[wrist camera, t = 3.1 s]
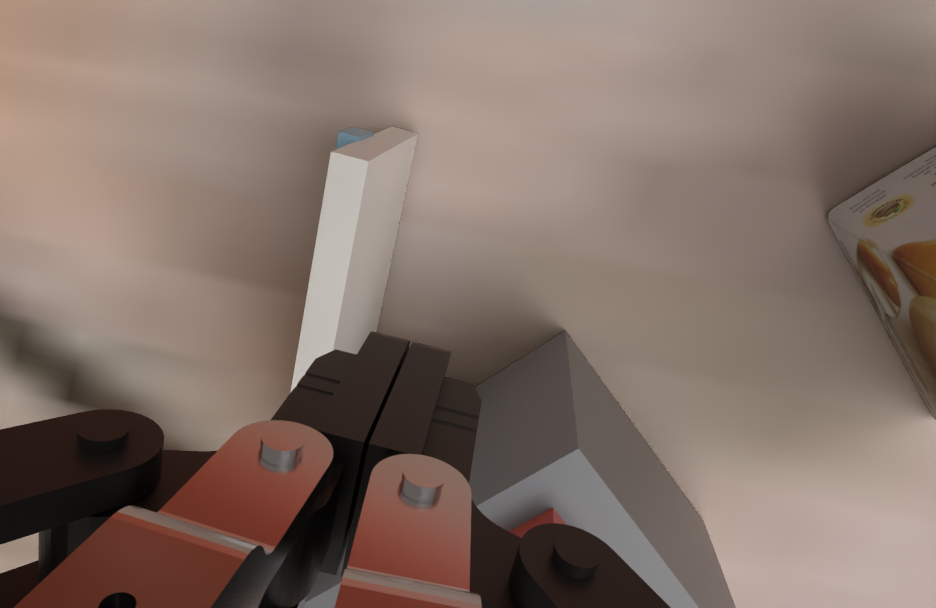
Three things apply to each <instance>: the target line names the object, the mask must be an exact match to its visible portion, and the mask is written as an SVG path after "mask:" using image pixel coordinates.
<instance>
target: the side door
mask: <svg viewBox="0 0 936 608" xmlns="http://www.w3.org/2000/svg"><path fill="white" fill-rule="evenodd" d="M417 138H418V133H414V132H410V131H407V130H403V129H399V128H395V127H390V128H387V129H385V130H382V131H380V132H378V133H375V134H374V132H372V131H369V130H365V129H361V128H357V127H351V128H348V129H345V130H342V131H339V132H338V137H337V143H336V149H335V150H334V151H331V154H330V160H329V166H328V172H327V178H326V184H325V190H324V196H323V202H322V208H321V214H320V220H319V226H318V232H317V238H316V244H315V250H314V255H313V261H312V267H311V273H310V279H309V285H308V291H307V297H306V303H305V309H304V315H303V321H302V327H301V333H300V339H299V345H298V350H297V356H296V362H295V368H294V374H293V380H292V386H291V392H292V390H293V389H294V388H295V387H296V386H297V383H298V382H299V381H300V379H301V378H302V377H303V375H305V373H306V371H307V370H308V368H309V367H310V366H311V364H312V363H313V362H314V360H315V359H316V358H318V357H320V356H322V355H324V354H327V353H329V352H331V351H333V350H335V349H337V350H340V351H344V352H348V353H352V354H356V355H357V353H358V352H359V350H360V348H361V347H362V345H363V343H364V342H365V340H366V338H367V337H368V335H369V333H370V332H371V331H372V332H377V327H378V322H379V318H380V313H381V308H382V303H383V299H384V294H385V289H386V284H387V280H388V275H389V270H390V266H391V261H392V256H393V251H394V247H395V242H396V237H397V232H398V228H399V223H400V218H401V213H402V209H403V204H404V199H405V194H406V190H407V185H408V180H409V176H410V171H411V166H412V161H413V157H414V152H415V147H416V142H417ZM291 392H290V393H291Z"/></svg>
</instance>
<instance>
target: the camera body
mask: <svg viewBox="0 0 936 608" xmlns="http://www.w3.org/2000/svg"><path fill="white" fill-rule="evenodd" d="M474 388H475V389H476V391H477V393H478V395H479V397H480V398H481V400H482V402H481V408H480V415H479V419H478V420H479V421H478V428H477V434H476V441H475V447H474V454H473V461H472V467H471V474H470V480H469V486H470V488H471V494H472V500H473V502H474V503H475V505H476V507H477V508H478V509H479V510H480V511H481V512H482V514H484V515H485V516H486V517H487V518H488V519H489V520H491V521H492V522H493V523H495V524H496V525H498V526H500V527H501V528H503V529H505V530H507V531H509V532H511V533H513V534H515V535H517V536H519V537H521V538H522V537H523V535H524V534H525V533H526V532H527V531H528V530H529V529H531V528H533V527H535V526H538V525H541V524H547V523H558V524H566V525H570V526H574V527H577V528H580V529H582V530H585V531H587V532H589V533H591V534H593V535H594V536H596V537H598V538H599V539H601V540H602V541H603V542H605V543H606V544H607V545H608V546H609V547H611V548H612V549H613V550H614V551H615V552H616V553H617V554H618V555H619V556H620V557H621V558H622V559H623V560H624V561H625V562H626V563H627V564H628V565H629V566H630V567H631V568H632V569H633V570H634V571H635V572H636V573H637V574H638V575H639V576H640V577H641V578H642V579H643V580H644V581H645V582H646V583H647V584H648V585H649V586H650V587H651V588H652V589H653V590H654V591H655V592H656V593H657V594H658V595H659V596H660V597H661V598H662V599H663V600H664V601H665V602H666V603H667V604H668V605H669V606H670V607H671V608H736V607H735V605H734V602H733V599H732V597H731V594H730V591H729V588H728V586H727V583H726V580H725V578H724V575H723V572H722V569H721V567H720V564H719V561H718V559H717V556H716V553H715V551H714V548H713V545H712V542H711V540H710V537H709V534H708V532H707V529H706V526H705V523H704V521H703V519H702V518H701V517H700V515H699V514H698V513H697V511H696V510H695V508H694V507H693V506H692V504H691V503H690V501H689V500H688V499H687V497H686V496H685V495H684V493H683V492H682V490H681V489H680V488H679V486H678V485H677V484H676V482H675V481H674V479H673V478H672V477H671V475H670V474H669V473H668V471H667V470H666V468H665V467H664V466H663V464H662V463H661V462H660V460H659V459H658V457H657V456H656V455H655V453H654V452H653V450H652V449H651V448H650V446H649V445H648V444H647V442H646V441H645V439H644V438H643V437H642V435H641V434H640V433H639V431H638V430H637V428H636V427H635V426H634V424H633V423H632V422H631V420H630V419H629V417H628V416H627V415H626V413H625V412H624V411H623V409H622V408H621V406H620V405H619V404H618V402H617V401H616V399H615V398H614V397H613V395H612V394H611V393H610V391H609V390H608V388H607V387H606V386H605V384H604V383H603V382H602V380H601V379H600V377H599V376H598V375H597V373H596V372H595V371H594V369H593V368H592V366H591V365H590V364H589V362H588V361H587V360H586V358H585V357H584V355H583V354H582V353H581V351H580V350H579V348H578V347H577V346H576V344H575V343H574V342H573V340H572V339H571V337H570V336H569V335H568V333H567V332H566V331H564V332H562V333H561V334H559V335H557V336H556V337H554V338H553V339H551V340H549V341H548V342H546V343H545V344H543V345H541V346H540V347H538V348H536V349H535V350H533V351H532V352H530V353H528V354H527V355H525V356H524V357H522V358H520V359H519V360H517V361H516V362H514V363H512V364H511V365H509V366H508V367H506V368H504V369H503V370H501V371H500V372H498V373H496V374H495V375H493V376H492V377H490V378H488V379H487V380H485V381H484V382H482V383H480V384H479V385H477V386H476V387H474ZM346 549H347V548H346ZM345 554H346V551H345ZM345 554H344V556H343V559H342V561H341V564H340V567H339V569H338V572H337V575H332V574H328V573H324V572H320V571H319V572H318V575H317V577H316V580H315V582H314V584H313V587H312V589H311V590H310V592H309V594H308V595H307V596H306V601H305V606H304V608H335V604H336V600H337V596H338V592H339V589H340V585H341V581H342V577H341V572H342V568H343V563H344V558H345Z"/></svg>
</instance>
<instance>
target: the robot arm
mask: <svg viewBox="0 0 936 608" xmlns="http://www.w3.org/2000/svg"><path fill="white" fill-rule="evenodd" d="M409 345H410V341H408V340H404V339H400V338H396V337H392V336H388V335H384V334H380V333H376V332H372V331H371V332H370V333H369V335H368V337H367V338H366V340H365V342H364V343H363V345H362V347H361V348H360V350H359V352H358V353H357V355H356V354H352V353H348V352H344V351H340V350H337V349H335V350H333V351H331V352H329V353H327V354H324V355H322V356H320V357H318V358H316V359H315V360H314V362H313V363H312V364H311V366H310V367H309V368H308V370H307V371H306V373H305V375H303V377H302V378H301V379H300V381H299V382H298V383H297V386H296V387H295V388H294V389H293V390H292V392H291V393H290V394H289V396H288V397H287V399H286V400H285V401H284V403H283V404H282V405H281V407H280V408H279V410H278V411H277V412H276V414H275V415H274V416H273V418H272V419H271V420H270V421H262V422H257V423H253V424H250V425H248V426H245V427H243V428H242V429H240V430H238V431H237V432H236V433H235V434H234V435H233V436H232V437H231V438H230V439H229V440H228V441H227V442H226V443H225V444H224V445H223V446H222V447H221V448H220V449H219V450H218V451H210V452H197V451H175V450H163V444H164V435H163V431H162V430H161V428H160V427H159V425H158V424H156V423H155V422H154V421H153V420H151V419H149V418H148V417H145V416H143V415H141V414H137V413H134V412H129V411H123V410H92V411H86V412H81V413H76V414H72V415H67V416H62V417H57V418H53V419H48V420H43V421H39V422H34V423H29V424H25V425H20V426H15V427H11V428H6V429H1V430H0V544H3V543H6V542H10V541H13V540H16V539H19V538H22V537H25V536H28V535H31V534H35V533H38V532H39V560H38V561H35V562H32V563H30V564H27V565H24V566H21V567H18V568H15V569H12V570H9V571H6V572H4V573H1V574H0V608H304V606H305V601H306V596H307V595H308V594H309V592H310V590H311V589H312V587H313V584H314V582H315V580H316V577H317V575H318V572H319V571H320V572H324V573H328V574H332V575H337V572H338V569H339V567H340V564H341V561H342V559H343V556H344V554H345V551H346V554H345V558H344V563H343V568H342V572H341V577H342V581H341V585H340V589H339V592H338V596H337V600H336V604H335V608H671V607H670V606H669V605H668V604H667V603H666V602H665V601H664V600H663V599H662V598H661V597H660V596H659V595H658V594H657V593H656V592H655V591H654V590H653V589H652V588H651V587H650V586H649V585H648V584H647V583H646V582H645V581H644V580H643V579H642V578H641V577H640V576H639V575H638V574H637V573H636V572H635V571H634V570H633V569H632V568H631V567H630V566H629V565H628V564H627V563H626V562H625V561H624V560H623V559H622V558H621V557H620V556H619V555H618V554H617V553H616V552H615V551H614V550H613V549H612V548H611V547H609V546H608V545H607V544H606V543H605V542H603V541H602V540H601V539H599V538H598V537H596V536H594V535H593V534H591V533H589V532H587V531H585V530H582V529H580V528H577V527H574V526H570V525H566V524H558V523H547V524H541V525H538V526H535V527H533V528H531V529H529V530H528V531H527V532H526V533H525V534H524V535H523V537H522V538H521V537H519V536H517V535H515V534H513V533H511V532H509V531H507V530H505V529H503V528H501V527H500V526H498V525H496V524H495V523H493V522H492V521H491V520H489V519H488V518H487V517H486V516H485V515H484V514H482V512H481V511H480V510H479V509H478V508H477V507H476V505H475V503H474V502H473V500H472V494H471V488H470V486H469V480H470V474H471V467H472V461H473V454H474V447H475V441H476V434H477V428H478V421H479V420H478V419H479V415H480V408H481V402H482V400H481V398H480V397H479V395H478V393H477V391H476V389H475V388H474V386H473V384H471V383H467V382H463V381H459V380H455V379H451V378H447V377H445V374H446V370H447V366H448V362H449V358H450V353H451V351H447V350H443V349H439V348H435V347H432V346H428V345H424V344H420V343H416V342H412V344H411V346H410V349H409ZM346 548H347V549H346Z"/></svg>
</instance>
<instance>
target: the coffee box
mask: <svg viewBox="0 0 936 608" xmlns="http://www.w3.org/2000/svg"><path fill="white" fill-rule="evenodd" d="M828 223H829V225H830V227H831V228H832V230H833V232H834V234H835V236H836V238H837V240H838V242H839V243H840V245H841V247H842V249H843V251H844V253H845V254H846V256H847V258H848V260H849V262H850V264H851V266H852V268H853V270H854V271H855V273H856V275H857V277H858V279H859V281H860V282H861V284H862V286H863V288H864V290H865V292H866V293H867V295H868V297H869V299H870V301H871V303H872V305H873V306H874V308H875V310H876V312H877V314H878V316H879V317H880V319H881V321H882V323H883V325H884V327H885V329H886V330H887V332H888V334H889V336H890V338H891V340H892V342H893V344H894V345H895V347H896V349H897V351H898V353H899V355H900V357H901V359H902V361H903V362H904V364H905V366H906V368H907V370H908V372H909V374H910V376H911V378H912V379H913V381H914V383H915V385H916V387H917V389H918V390H919V392H920V394H921V396H922V398H923V400H924V402H925V404H926V405H927V407H928V409H929V411H930V413H931V414H932V416H933V417H934V419H935V420H936V147H935V148H933V149H931V150H929V151H928V152H926V153H924V154H923V155H921V156H919V157H918V158H916V159H914V160H912V161H911V162H909V163H907V164H906V165H904V166H902V167H900V168H899V169H897V170H895V171H894V172H892V173H890V174H889V175H887V176H886V177H884V178H882V179H881V180H879V181H877V182H876V183H874V184H872V185H871V186H869V187H867V188H866V189H864V190H862V191H861V192H859V193H857V194H856V195H854V196H852V197H851V198H849V199H847V200H846V201H844V202H842V203H841V204H839V205H838V206H836V207H834V208H833V209H832V210H831V211H830V213H829V214H828Z"/></svg>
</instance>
